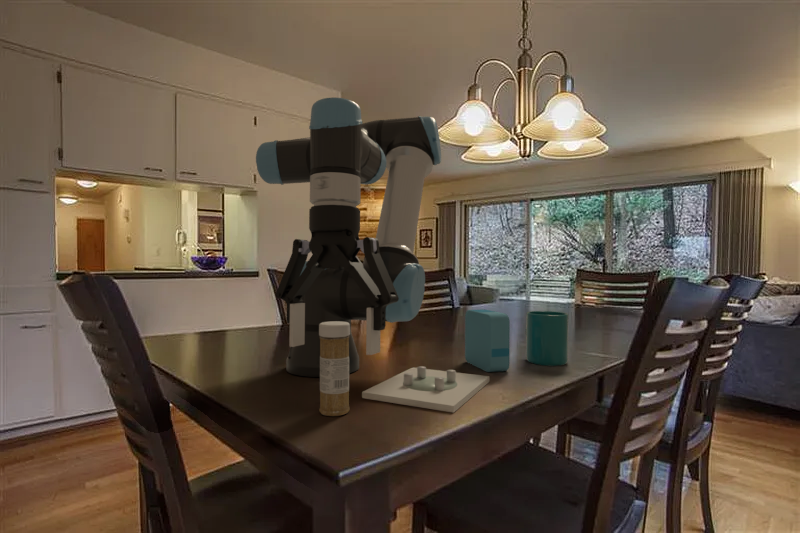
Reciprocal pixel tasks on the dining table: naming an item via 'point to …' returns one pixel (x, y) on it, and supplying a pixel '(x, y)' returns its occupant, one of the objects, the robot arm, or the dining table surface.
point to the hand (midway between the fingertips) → (333, 349)
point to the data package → (487, 340)
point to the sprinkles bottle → (334, 368)
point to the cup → (547, 338)
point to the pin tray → (428, 388)
